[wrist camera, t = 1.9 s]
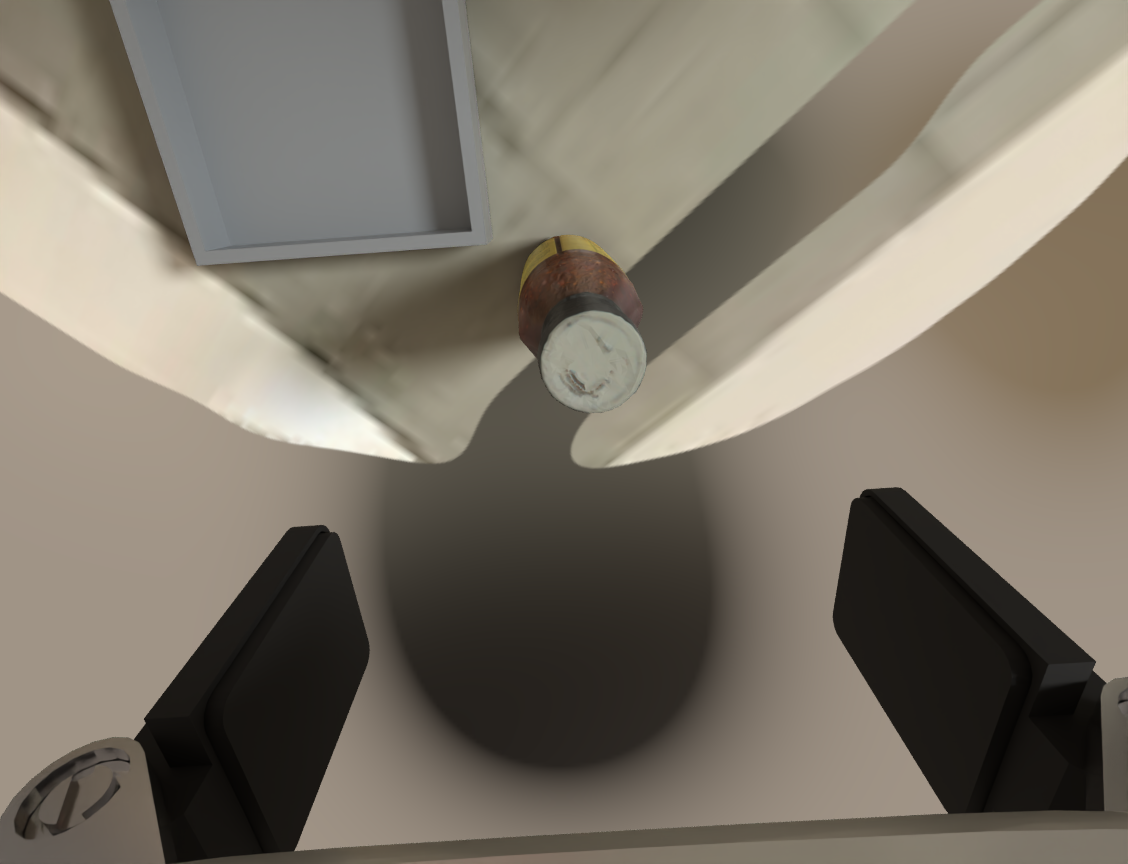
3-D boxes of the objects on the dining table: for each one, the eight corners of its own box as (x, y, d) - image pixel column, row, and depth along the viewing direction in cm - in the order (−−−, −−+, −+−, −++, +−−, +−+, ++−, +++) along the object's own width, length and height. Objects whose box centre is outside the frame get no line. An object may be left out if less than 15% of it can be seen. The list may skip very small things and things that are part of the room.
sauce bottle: (535, 333, 40) (516, 462, 22) (512, 243, 38) (469, 308, 20) (625, 312, 40) (681, 427, 22) (608, 220, 37) (655, 263, 19)
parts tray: (452, -116, 30) (439, -150, 27) (492, 238, 38) (486, 244, 34) (121, -87, 30) (70, -117, 27) (227, 257, 38) (196, 265, 35)
